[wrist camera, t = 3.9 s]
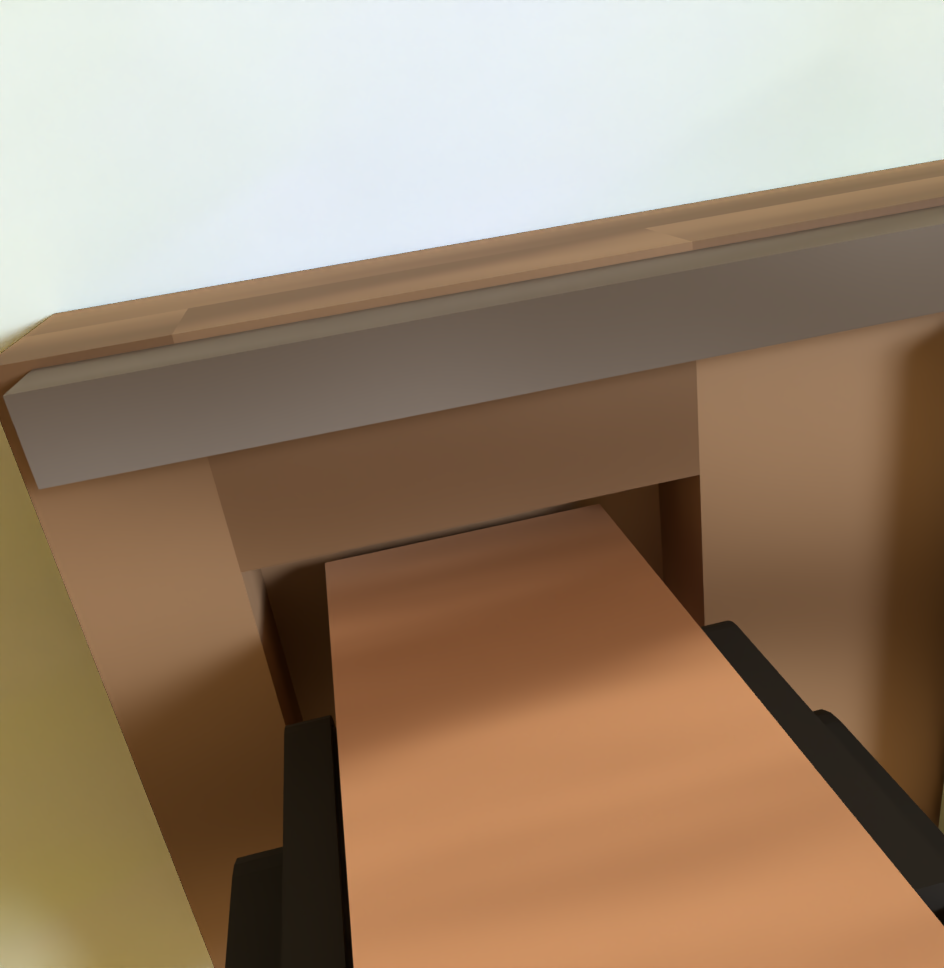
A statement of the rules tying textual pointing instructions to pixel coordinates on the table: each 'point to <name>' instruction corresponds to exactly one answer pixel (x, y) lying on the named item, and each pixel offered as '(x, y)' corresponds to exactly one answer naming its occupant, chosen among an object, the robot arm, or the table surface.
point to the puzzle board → (502, 466)
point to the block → (581, 774)
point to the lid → (942, 814)
